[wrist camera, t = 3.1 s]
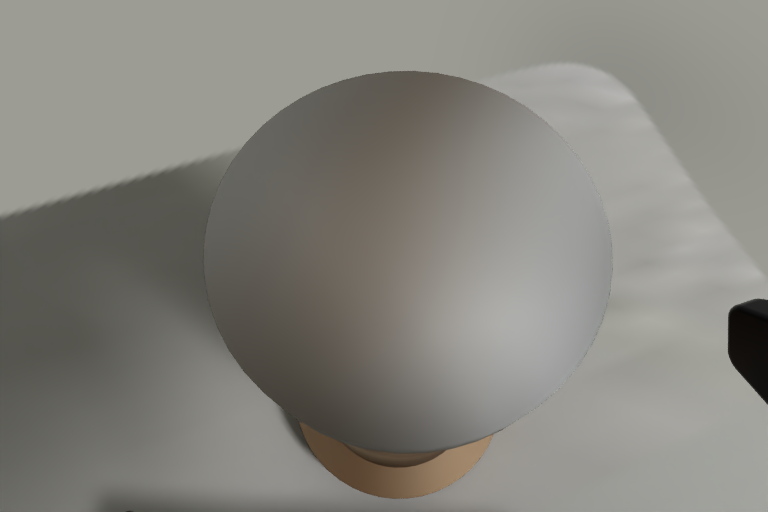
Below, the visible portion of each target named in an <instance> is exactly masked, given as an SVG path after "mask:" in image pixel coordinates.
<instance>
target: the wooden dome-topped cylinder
mask: <svg viewBox="0 0 768 512" xmlns="http://www.w3.org/2000/svg"><path fill="white" fill-rule="evenodd" d="M203 257H204V278H205V284H206V289H207V295H208V300H209V304H210V307H211V310H212V313H213V316H214V319H215V322H216V325H217V327H218V329H219V331H220V333H221V335H222V337H223V339H224V341H225V343H226V345H227V347H228V349H229V351H230V352H231V354H232V355H233V356H234V358H235V359H236V361H237V362H238V364H239V365H240V366H241V368H242V369H243V371H244V372H245V373H246V374H247V375H248V376H249V377H250V379H251V380H252V381H253V382H254V383H255V384H256V385H257V386H258V387H259V388H260V389H261V390H262V391H263V392H264V393H265V394H266V395H267V396H268V397H270V398H271V399H272V400H273V401H274V402H276V403H277V404H278V405H279V406H281V407H282V408H283V409H284V410H286V411H287V412H288V413H289V414H291V415H292V416H293V417H294V418H296V419H297V420H298V421H299V423H300V426H301V429H302V432H303V434H304V437H305V439H306V441H307V443H308V445H309V447H310V448H311V450H312V451H313V453H314V454H315V456H316V457H317V458H318V460H319V461H320V462H321V463H322V464H323V465H324V466H325V468H326V469H327V470H328V471H329V472H331V473H332V474H333V475H334V476H336V477H337V478H338V479H339V480H341V481H342V482H344V483H346V484H347V485H349V486H351V487H352V488H355V489H357V490H359V491H362V492H364V493H367V494H371V495H374V496H378V497H385V498H393V499H397V498H413V497H419V496H424V495H427V494H430V493H433V492H436V491H438V490H441V489H443V488H445V487H447V486H449V485H450V484H452V483H453V482H455V481H457V480H458V479H460V478H461V477H462V476H463V475H464V474H465V473H467V472H468V471H469V470H470V469H471V468H472V467H473V466H474V465H475V463H476V462H477V461H478V460H479V459H480V458H481V456H482V455H483V453H484V451H485V450H486V448H487V447H488V445H489V443H490V441H491V439H492V436H493V434H494V433H496V432H499V431H501V430H503V429H504V428H506V427H507V426H509V425H511V424H512V423H514V422H515V421H517V420H519V419H520V418H522V417H523V416H525V415H526V414H528V413H529V412H531V411H532V410H534V409H536V408H537V407H539V406H540V405H541V404H542V403H543V402H544V401H545V400H547V399H548V398H549V397H550V396H551V395H552V394H553V393H555V392H556V391H557V390H558V389H559V388H560V387H561V386H562V385H563V384H564V382H565V381H566V380H567V379H568V378H569V377H570V375H571V374H572V373H573V372H574V371H575V370H576V368H577V367H578V366H579V364H580V363H581V361H582V359H583V358H584V356H585V355H586V353H587V351H588V350H589V348H590V347H591V345H592V343H593V341H594V339H595V336H596V334H597V332H598V330H599V327H600V325H601V323H602V320H603V317H604V313H605V310H606V306H607V302H608V299H609V295H610V287H611V278H612V270H613V268H612V242H611V236H610V231H609V225H608V220H607V216H606V213H605V210H604V207H603V204H602V200H601V197H600V195H599V193H598V191H597V189H596V187H595V185H594V182H593V180H592V178H591V176H590V174H589V173H588V171H587V170H586V168H585V166H584V165H583V163H582V162H581V160H580V159H579V157H578V156H577V154H576V153H575V152H574V151H573V149H572V148H571V147H570V146H569V145H568V143H567V142H566V141H565V140H564V139H563V137H562V136H561V135H560V134H559V133H557V132H556V131H555V130H554V129H553V128H552V127H551V126H550V125H549V124H548V123H547V122H546V121H545V120H543V119H542V118H541V117H539V116H538V115H537V114H535V113H534V112H533V111H531V110H530V109H529V108H527V107H526V106H524V105H522V104H521V103H519V102H517V101H516V100H514V99H512V98H510V97H509V96H507V95H505V94H503V93H501V92H498V91H496V90H494V89H491V88H489V87H487V86H485V85H482V84H479V83H476V82H472V81H469V80H466V79H463V78H459V77H454V76H448V75H444V74H439V73H429V72H418V71H394V72H383V73H375V74H367V75H362V76H358V77H354V78H350V79H346V80H342V81H339V82H337V83H334V84H331V85H328V86H325V87H323V88H320V89H318V90H316V91H314V92H312V93H310V94H308V95H306V96H304V97H302V98H300V99H298V100H297V101H295V102H294V103H292V104H291V105H289V106H287V107H286V108H284V109H283V110H281V111H280V112H279V113H278V114H276V115H275V116H274V117H273V118H271V119H270V120H269V121H268V122H266V123H265V124H264V125H263V126H262V127H261V128H260V129H259V130H258V131H257V132H256V133H255V134H254V135H253V136H252V137H251V138H250V139H249V140H248V141H247V142H246V144H245V145H244V146H243V148H242V149H241V150H240V152H239V153H238V154H237V156H236V157H235V158H234V160H233V161H232V163H231V164H230V166H229V168H228V170H227V172H226V173H225V175H224V177H223V179H222V180H221V182H220V185H219V187H218V190H217V192H216V195H215V197H214V200H213V202H212V205H211V209H210V213H209V217H208V221H207V225H206V231H205V241H204V250H203Z"/></svg>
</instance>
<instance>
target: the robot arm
mask: <svg viewBox="0 0 768 512" xmlns="http://www.w3.org/2000/svg"><path fill="white" fill-rule="evenodd" d="M728 354H729V358H730V360H731V362H732V364H733V366H734V367H735V368H736V370H737V371H738V372H739V373H740V374H741V375H742V376H743V377H744V379H745V380H746V381H747V382H748V383H749V384H750V385H751V386H752V388H753V389H754V390H755V391H756V392H757V393H758V394H759V395H760V397H761V398H762V399H763V400H764V401H765V402H766V403H767V404H768V300H765V299H753V300H750V301H747V302H744V303H741V304H738V305H735V306H734V307H733V308H731V310H730V312H729V315H728ZM127 512H132V511H127Z"/></svg>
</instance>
